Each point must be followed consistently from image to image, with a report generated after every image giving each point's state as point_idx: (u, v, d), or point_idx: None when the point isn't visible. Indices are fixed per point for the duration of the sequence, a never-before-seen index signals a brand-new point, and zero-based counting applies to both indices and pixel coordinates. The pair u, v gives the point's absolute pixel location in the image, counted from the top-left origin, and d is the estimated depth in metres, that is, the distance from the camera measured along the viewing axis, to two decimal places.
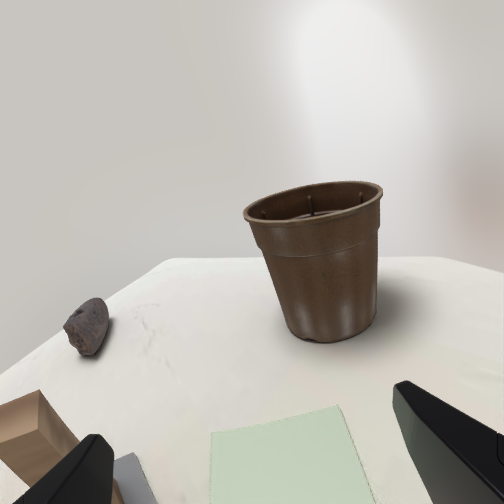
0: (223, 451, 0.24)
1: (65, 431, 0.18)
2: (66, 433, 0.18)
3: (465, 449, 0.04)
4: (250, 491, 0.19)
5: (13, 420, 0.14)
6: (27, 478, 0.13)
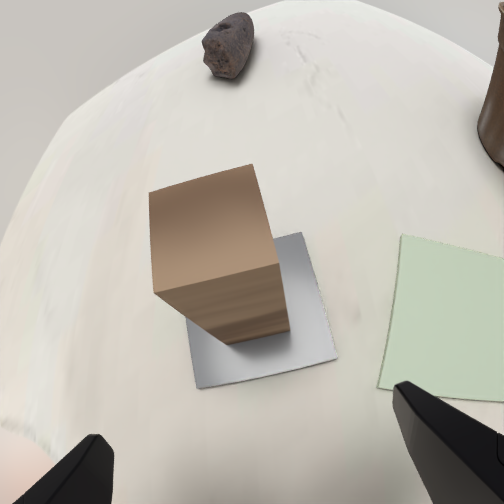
0: (413, 265, 0.22)
1: None
2: None
3: (465, 449, 0.04)
4: (432, 329, 0.20)
5: (206, 231, 0.12)
6: (197, 314, 0.14)
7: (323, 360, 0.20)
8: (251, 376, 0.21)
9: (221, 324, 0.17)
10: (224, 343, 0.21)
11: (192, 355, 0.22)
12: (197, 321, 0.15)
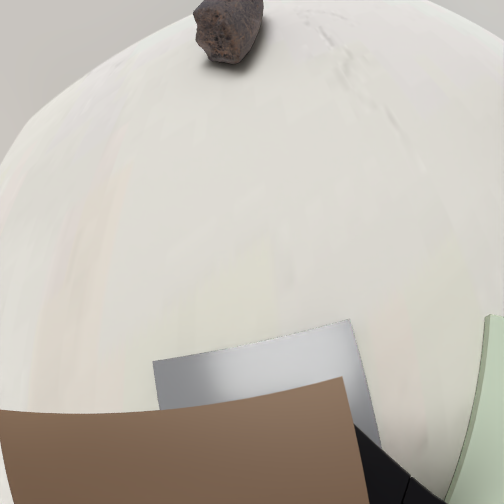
0: (501, 362, 0.12)
1: None
2: None
3: (367, 490, 0.04)
4: None
5: None
6: None
7: None
8: None
9: None
10: None
11: None
12: None
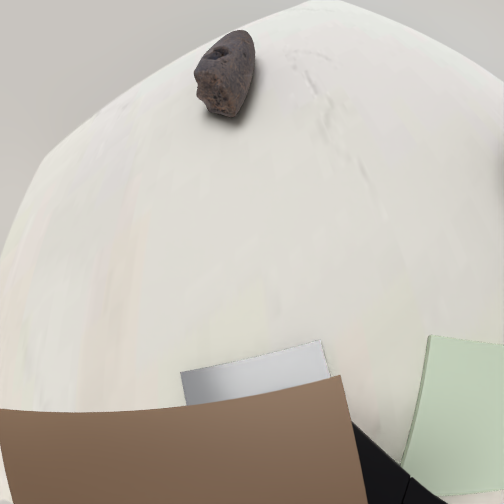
0: (439, 371, 0.18)
1: None
2: None
3: (367, 490, 0.04)
4: (451, 436, 0.16)
5: None
6: None
7: None
8: None
9: None
10: None
11: None
12: None
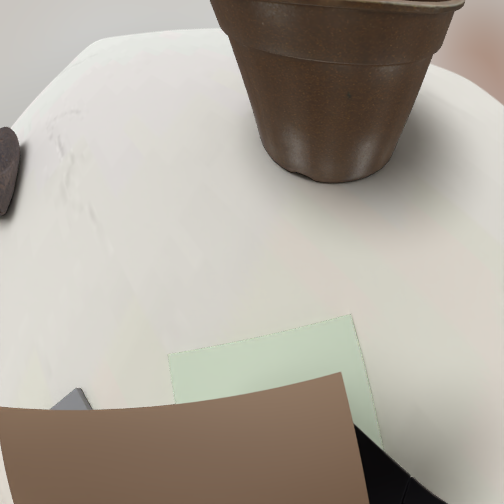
0: (189, 390, 0.19)
1: None
2: None
3: (367, 490, 0.04)
4: None
5: None
6: None
7: None
8: None
9: None
10: None
11: None
12: None
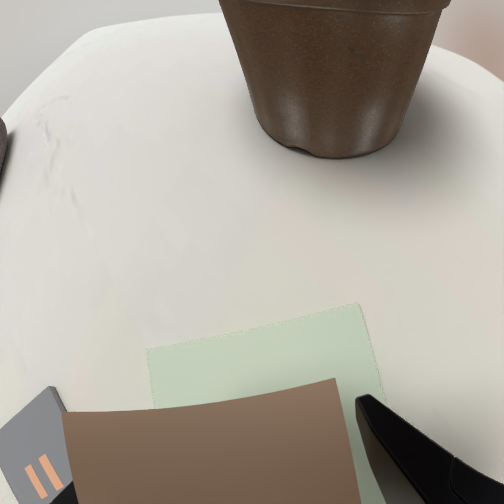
0: (170, 391, 0.16)
1: None
2: None
3: (415, 472, 0.04)
4: None
5: None
6: None
7: None
8: None
9: None
10: None
11: None
12: None
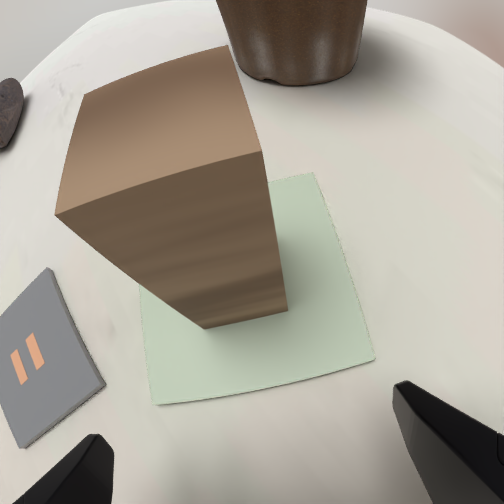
0: None
1: None
2: None
3: (465, 449, 0.04)
4: None
5: (146, 120, 0.07)
6: (143, 270, 0.09)
7: (89, 391, 0.16)
8: (45, 425, 0.15)
9: (186, 293, 0.11)
10: (200, 326, 0.16)
11: (7, 419, 0.15)
12: (148, 285, 0.10)
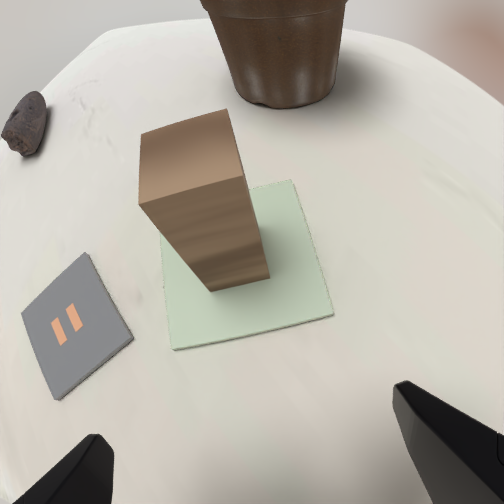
0: None
1: (242, 167, 0.18)
2: (243, 170, 0.18)
3: (465, 449, 0.04)
4: None
5: (185, 156, 0.14)
6: (178, 239, 0.16)
7: (121, 343, 0.23)
8: (80, 375, 0.22)
9: (201, 257, 0.18)
10: (208, 288, 0.23)
11: (44, 376, 0.22)
12: (179, 250, 0.17)
